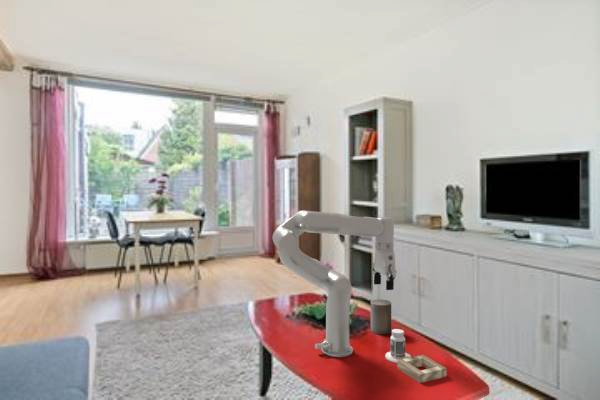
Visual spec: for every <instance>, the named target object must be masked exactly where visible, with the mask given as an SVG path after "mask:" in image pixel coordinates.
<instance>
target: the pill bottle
mask: <svg viewBox="0 0 600 400" xmlns="http://www.w3.org/2000/svg"><path fill="white" fill-rule="evenodd" d="M391 331H392V332H391V336H390V348H389V349H390V351H389V352H390V354H391V356H392V357H394V358H397V359H402V358H404V357H405V353H406V337H405V336H404V335H405V331H404V330H403V329H399V328H394V329H391Z"/></svg>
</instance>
